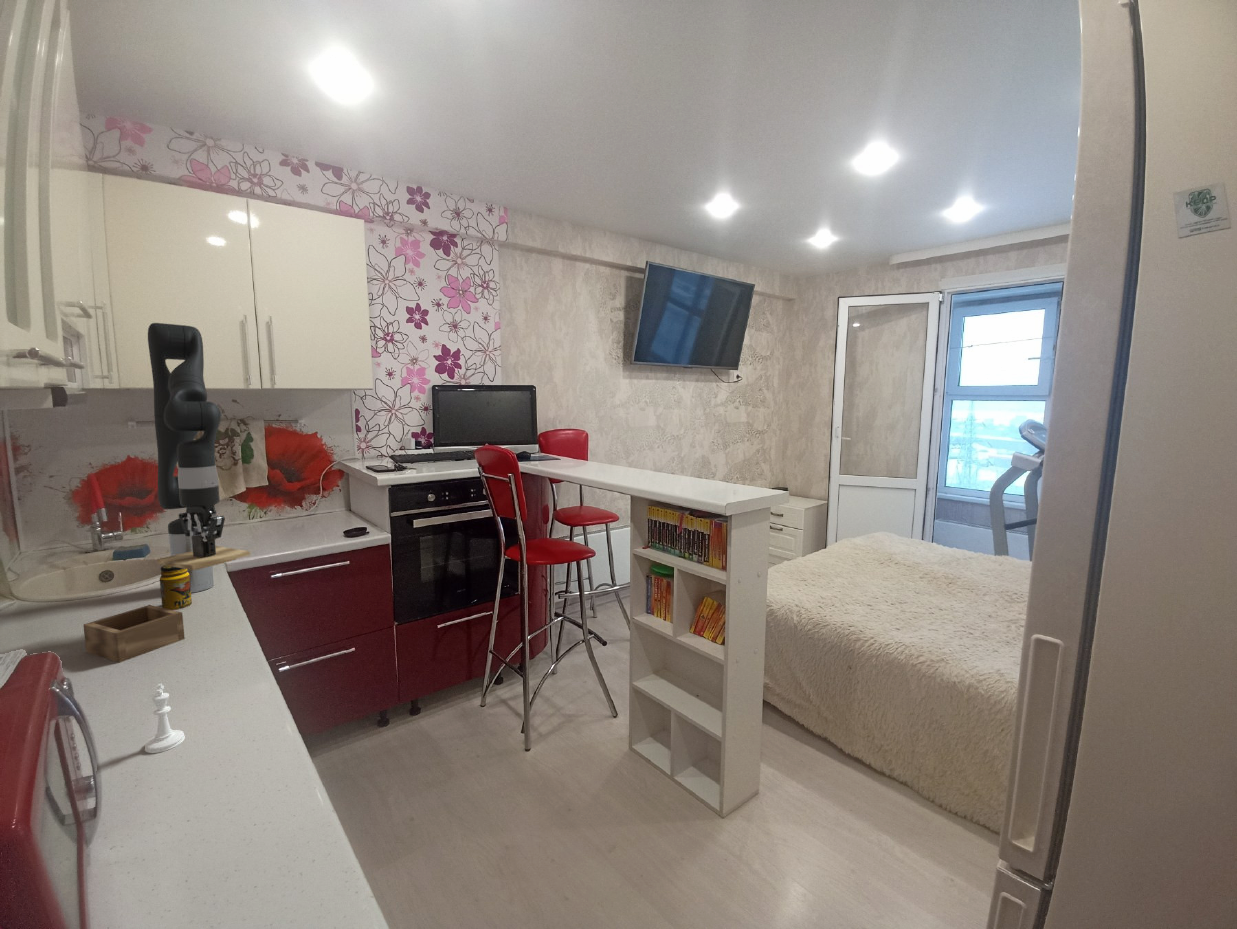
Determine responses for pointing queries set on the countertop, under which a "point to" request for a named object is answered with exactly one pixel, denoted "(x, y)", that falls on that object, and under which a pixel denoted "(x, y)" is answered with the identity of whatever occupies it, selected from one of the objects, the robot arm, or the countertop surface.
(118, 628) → the box
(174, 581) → the condiment
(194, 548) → the lid
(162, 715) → the chess piece
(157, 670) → the countertop surface
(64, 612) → the countertop surface
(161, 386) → the robot arm
